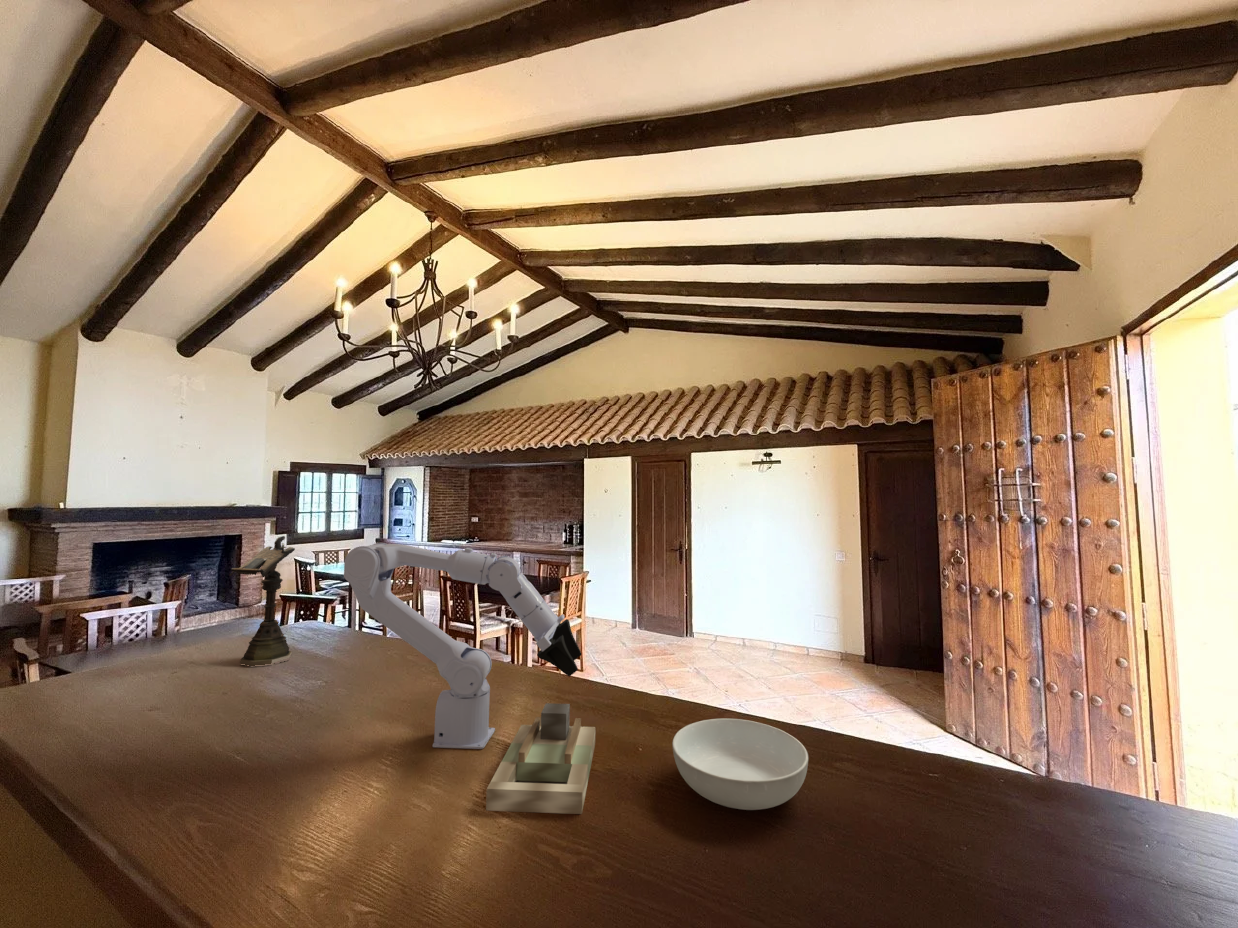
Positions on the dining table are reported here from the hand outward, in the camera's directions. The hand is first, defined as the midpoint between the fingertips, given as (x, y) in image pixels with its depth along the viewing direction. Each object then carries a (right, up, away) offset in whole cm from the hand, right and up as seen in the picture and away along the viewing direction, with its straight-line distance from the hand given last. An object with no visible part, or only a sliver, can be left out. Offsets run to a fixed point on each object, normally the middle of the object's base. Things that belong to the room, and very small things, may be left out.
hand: (575, 664), depth 99 cm
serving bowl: (+27, -13, -19) cm, 35 cm away
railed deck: (-3, -12, -14) cm, 19 cm away
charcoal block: (-3, -10, -7) cm, 12 cm away
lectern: (-90, -16, +41) cm, 100 cm away
